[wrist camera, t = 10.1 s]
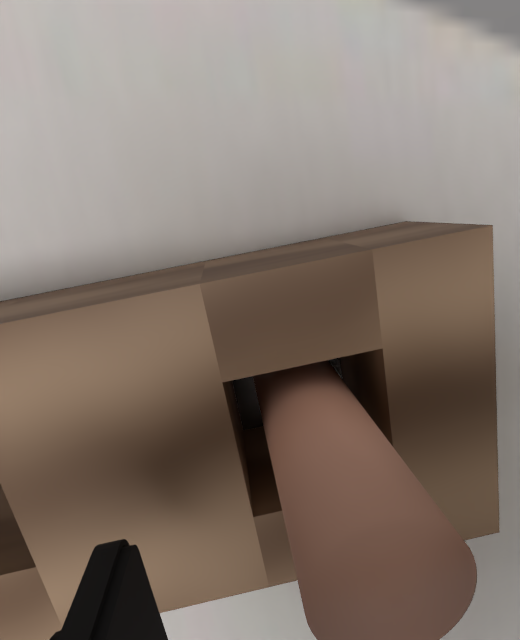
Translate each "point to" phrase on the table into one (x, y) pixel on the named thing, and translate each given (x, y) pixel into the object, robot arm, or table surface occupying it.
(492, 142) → the table surface
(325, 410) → the peg
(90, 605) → the robot arm
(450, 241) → the hole block
